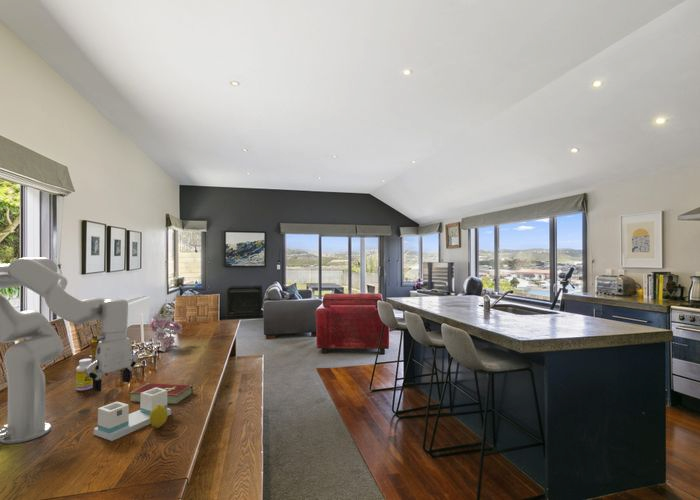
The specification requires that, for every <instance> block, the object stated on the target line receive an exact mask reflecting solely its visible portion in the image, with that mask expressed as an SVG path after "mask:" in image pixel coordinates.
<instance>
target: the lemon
mask: <svg viewBox="0 0 700 500" xmlns="http://www.w3.org/2000/svg"><path fill="white" fill-rule="evenodd" d="M167 419H168V416H167V410H166V408H165V407H164V406H161V405H158V406H156V407H154V408H153V409H152V411H151V413H150V423H151V424H150V425H152V427H155V428H157V429H160V427H162V426H163V425H164V424H165V423H166V422H167Z"/></svg>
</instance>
